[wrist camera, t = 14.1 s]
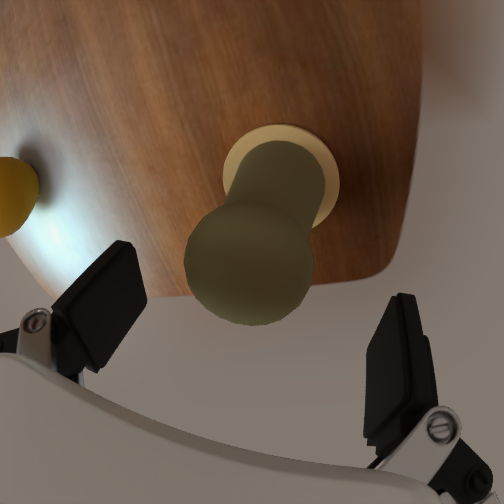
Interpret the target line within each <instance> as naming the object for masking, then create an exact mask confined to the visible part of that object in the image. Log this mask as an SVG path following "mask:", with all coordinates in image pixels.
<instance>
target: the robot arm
mask: <svg viewBox="0 0 504 504" xmlns="http://www.w3.org/2000/svg"><path fill="white" fill-rule="evenodd" d="M146 304H147V296H146V292H145V288H144V284H143V280H142V276H141V271H140V267H139V263H138V258H137V254H136V250H135V248H134V247H133V245H132V244H131V243H130V242H126V241H121V240H116V241H115V242H114V243H113V244H112V245H111V246H110V247H109V248H108V249H106V250H105V251H104V252H103V253H102V254H101V255H100V256H99V257H98V258H97V259H96V260H95V261H94V262H93V263H92V264H91V265H90V266H89V267H88V268H87V269H86V270H85V271H84V272H83V273H82V274H81V275H80V276H79V277H78V278H77V279H76V280H75V281H74V282H73V284H72V285H71V286H70V287H69V288H68V289H67V290H66V291H65V292H64V293H63V294H62V295H61V296H60V297H59V298H58V300H57V301H56V302H55V303H54V304H53V305H52V306H51V308H52V310H53V313H52V314H50V312H49V311H48V310H47V309H45V308H36V309H34V310H31V311H30V312H28V313H27V314H26V315H25V316H24V317H23V319H22V320H21V323H20V327H19V328H17V329H14V330H10V331H7V332H4V333H0V504H500V502H499V499H498V497H497V495H496V493H495V492H493V493H492V492H491V488H492V483H493V475H492V471H491V469H490V468H489V466H488V465H487V464H486V463H485V462H484V461H483V460H482V459H481V458H480V457H479V456H478V455H477V454H476V453H475V452H474V451H473V450H472V449H471V448H470V447H469V446H468V445H467V444H466V443H465V442H464V441H463V440H462V439H461V438H460V435H461V430H462V426H461V421H460V419H459V417H458V415H457V414H456V413H455V412H454V411H453V410H452V409H450V408H449V407H445V406H438V396H437V388H436V380H435V373H434V366H433V360H432V354H431V349H430V343H429V339H428V337H427V336H426V335H423V331H422V325H421V320H420V316H419V311H418V306H417V302H416V298H415V296H414V295H411V294H405V293H398V294H397V296H392V297H391V299H390V301H389V303H388V306H387V308H386V310H385V312H384V315H383V317H382V319H381V321H380V323H379V325H378V327H377V329H376V331H375V334H374V336H373V337H372V339H371V341H370V343H369V345H368V348H367V353H366V396H365V416H364V431H363V436H364V438H367V446H376V455H377V456H376V457H375V458H374V459H373V460H372V461H371V462H370V463H369V464H368V465H367V466H366V467H365V468H356V467H347V466H337V465H329V464H321V463H314V462H307V461H301V460H295V459H289V458H283V457H278V456H273V455H267V454H263V453H259V452H254V451H250V450H246V449H242V448H238V447H233V446H230V445H226V444H223V443H219V442H216V441H212V440H209V439H205V438H202V437H199V436H196V435H193V434H190V433H187V432H184V431H181V430H179V429H176V428H173V427H170V426H167V425H165V424H162V423H160V422H157V421H155V420H152V419H150V418H147V417H145V416H142V415H140V414H138V413H135V412H133V411H131V410H129V409H127V408H124V407H122V406H120V405H118V404H116V403H114V402H112V401H109V400H107V399H105V398H103V397H101V396H99V395H97V394H95V393H93V392H92V391H90V390H88V389H86V388H85V387H84V379H83V369H84V367H86V368H87V369H88V370H90V371H92V372H94V373H98V371H99V370H100V368H103V367H104V366H105V365H106V364H107V362H108V361H109V359H110V358H111V356H112V354H113V353H114V352H115V350H116V349H117V347H118V346H119V344H120V343H121V341H122V340H123V338H124V337H125V335H126V334H127V333H128V331H129V329H130V328H131V326H132V325H133V324H134V322H135V321H136V319H137V318H138V317H139V315H140V314H141V312H142V311H143V310H144V308H145V307H146Z"/></svg>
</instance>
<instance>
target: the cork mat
mask: <svg viewBox="0 0 504 504" xmlns="http://www.w3.org/2000/svg"><path fill="white" fill-rule="evenodd" d="M273 140H277V141H289V142H292V143H295V144H297V145H300V146H302V147H304V148H305V149H306V150H308V151H309V152H310V153H311V154H313V155H314V156H315V158H316V159H317V161H318V162H319V164H320V165H321V167H322V170H323V174H324V177H325V192H324V196H323V199H322V202H321V205H320V207H319V210H318V213H317V215H316V218H315V221H314V223H313V226H312V228H313V227H315V226H317V225H318V224H319V223H321V222H322V221H323V220H324V219H325V218H326V217H327V216H328V215H329V213H330V212H331V211H332V209H333V207H334V206H335V203H336V201H337V198H338V194H339V188H340V177H339V171H338V167H337V164H336V161H335V159H334V157H333V155H332V153H331V152H330V150H329V149H328V147H327V146H326V145H325V144H324V143H323V142H322V141H321V140H320V139H319V138H318V137H317V136H315V135H314V134H312V133H311V132H309V131H307V130H305V129H303V128H300V127H297V126H294V125H288V124H269V125H265V126H261V127H258V128H256V129H254V130H252V131H250V132H248V133H247V134H245V135H244V136H243V137H241V138H240V139H239V140H238V141H237V142H236V143H235V144H234V146H233V147H232V148H231V150H230V152H229V153H228V155H227V158H226V160H225V164H224V168H223V185H224V190H225V193H226V196H227V194H228V191H229V189H230V186H231V184H232V182H233V179H234V177H235V174H236V172H237V169H238V167H239V165H240V162H241V161H242V160H243V158H244V157H245V155H246V154H247V153H248V152H249V151H250V150H252V149H253V148H255V147H256V146H257V145H259V144H262V143H265V142H269V141H273Z"/></svg>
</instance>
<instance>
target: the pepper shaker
mask: <svg viewBox="0 0 504 504" xmlns="http://www.w3.org/2000/svg"><path fill="white" fill-rule="evenodd" d="M324 192H325V177H324V174H323V170H322V167H321V165H320V164H319V162H318V161H317V159H316V158H315V156H314V155H313V154H311V153H310V152H309V151H308V150H306V149H305V148H304V147H302V146H300V145H297V144H295V143H292V142H289V141H277V140H273V141H269V142H265V143H262V144H259V145H257V146H256V147H255V148H253V149H252V150H250V151H249V152H248V153H247V154H246V155H245V157H244V158H243V160H242V161H241V162H240V165H239V167H238V169H237V172H236V174H235V177H234V179H233V182H232V184H231V186H230V189H229V191H228V194H227V196H226V199H225V201H224V204H223V205H222V206H220V207H218V208H217V209H215V210H214V211H212V212H211V213H209V214H208V215H206V216H205V217H203V219H202V220H201V221H200V222H199V223H198V225H197V226H196V228H195V229H194V231H193V232H192V234H191V235H190V237H189V239H188V243H187V246H186V251H185V257H184V267H185V272H186V277H187V282H188V285H189V287H190V289H191V291H192V292H193V294H194V296H195V298H196V299H197V300H198V301H199V302H200V303H201V304H202V305H203V306H204V307H205V308H206V309H208V310H209V311H211V312H212V313H214V314H215V315H217V316H219V317H220V318H222V319H225V320H228V321H230V322H233V323H236V324H243V325H250V326H255V325H267V324H270V323H273V322H276V321H279V320H281V319H282V318H284V317H285V316H287V315H288V314H289V313H291V312H292V311H293V310H294V309H296V308H297V307H298V306H299V305H300V304H301V302H302V300H303V298H304V297H305V295H306V293H307V291H308V290H309V288H310V286H311V282H312V274H313V263H314V258H313V254H312V250H311V247H310V243H309V240H308V236H309V234H310V231H311V229H312V226H313V223H314V221H315V218H316V215H317V213H318V210H319V207H320V205H321V202H322V199H323V196H324Z"/></svg>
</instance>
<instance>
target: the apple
mask: <svg viewBox="0 0 504 504" xmlns="http://www.w3.org/2000/svg"><path fill="white" fill-rule="evenodd" d="M39 189H40V183H39V179H38V176H37V173H36V172H35V170H34V169H33V167H32V166H31V165H30V164H28V163H26V162H24V161H21V160H19V159H16V158H13V157H0V238H3V237H6V236H9V235H11V234H13V233H14V232H16V231H17V230H18V229H20V228H21V226H22V225H23V224H24V223H25V221H26V220H27V218H28V217H29V215H30V213H31V211H32V210H33V208H34V205H35V203H36V201H37V198H38V195H39Z"/></svg>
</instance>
